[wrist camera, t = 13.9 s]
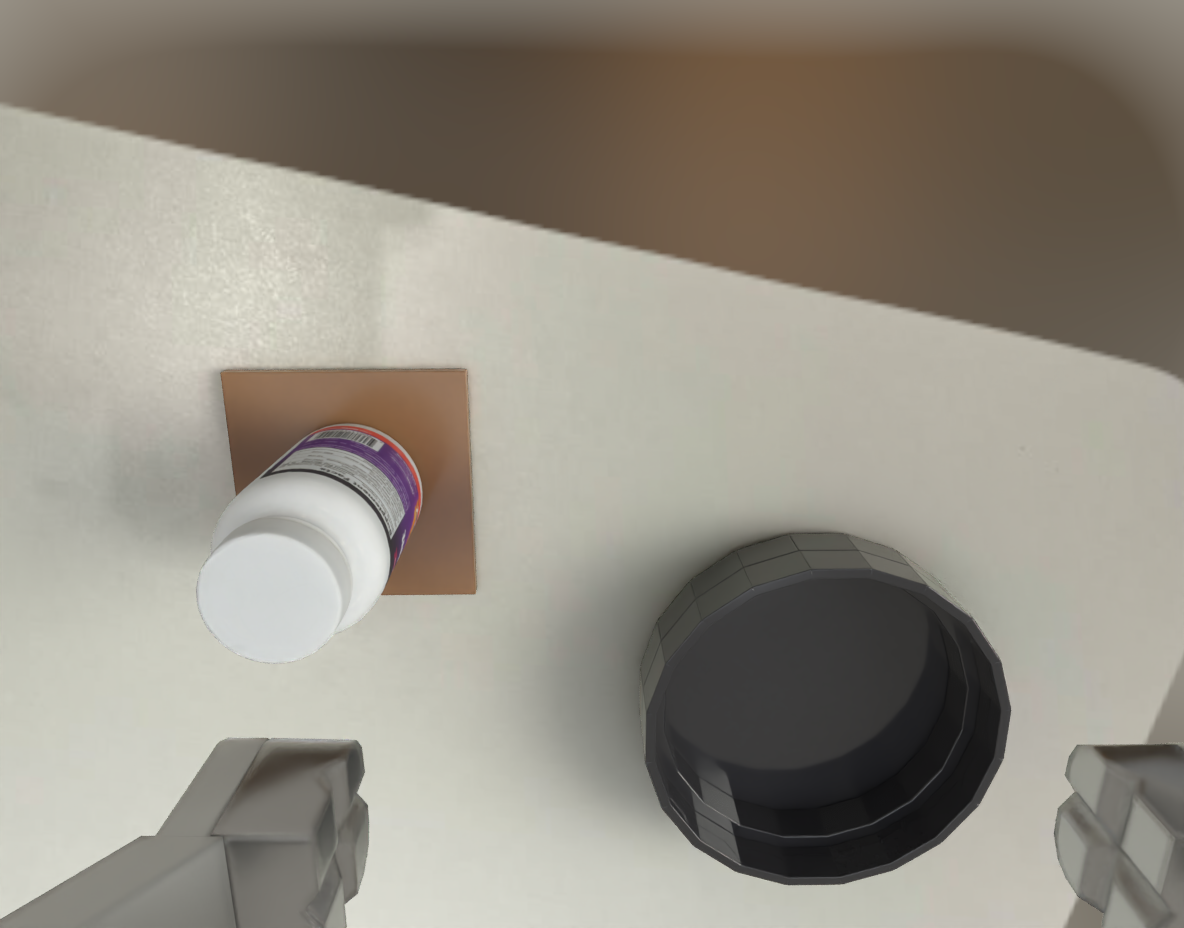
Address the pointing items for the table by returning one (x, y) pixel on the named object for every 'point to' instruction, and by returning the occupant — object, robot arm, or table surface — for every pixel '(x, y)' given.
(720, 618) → the pan
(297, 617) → the pill bottle
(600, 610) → the table surface
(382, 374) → the copper plate
